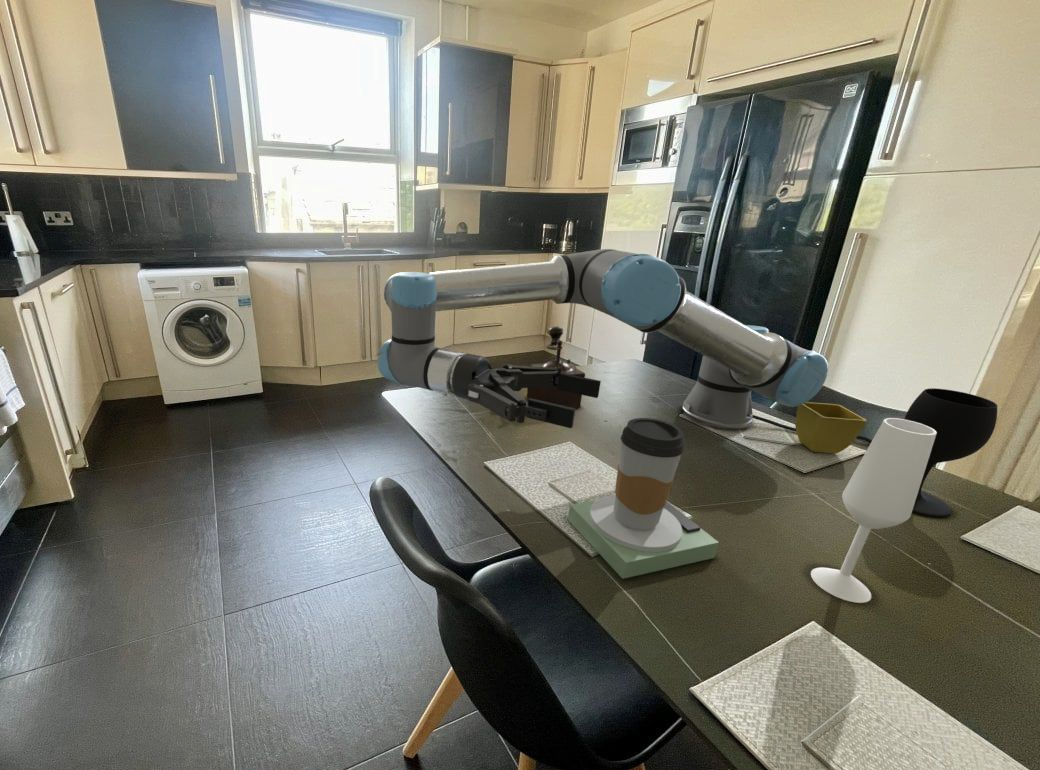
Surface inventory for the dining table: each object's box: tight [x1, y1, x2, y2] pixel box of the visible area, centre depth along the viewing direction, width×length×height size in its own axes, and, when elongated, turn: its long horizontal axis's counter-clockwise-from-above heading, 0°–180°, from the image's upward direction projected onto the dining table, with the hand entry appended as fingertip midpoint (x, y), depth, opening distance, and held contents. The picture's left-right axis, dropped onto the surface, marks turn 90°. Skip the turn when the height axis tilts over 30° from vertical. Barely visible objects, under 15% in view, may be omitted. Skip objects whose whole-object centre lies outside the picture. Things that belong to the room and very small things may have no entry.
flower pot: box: [794, 401, 868, 454], centre depth 104 cm, size 9×9×9 cm
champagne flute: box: [810, 417, 937, 604], centre depth 62 cm, size 7×7×24 cm
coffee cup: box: [613, 417, 686, 531], centre depth 70 cm, size 8×8×15 cm
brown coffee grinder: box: [526, 325, 586, 410], centre depth 124 cm, size 16×11×18 cm
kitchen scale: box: [567, 494, 720, 580], centre depth 74 cm, size 16×14×4 cm
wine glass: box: [904, 387, 998, 518], centre depth 83 cm, size 10×10×20 cm
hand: (587, 403), depth 71 cm, fingers open, 13 cm apart
